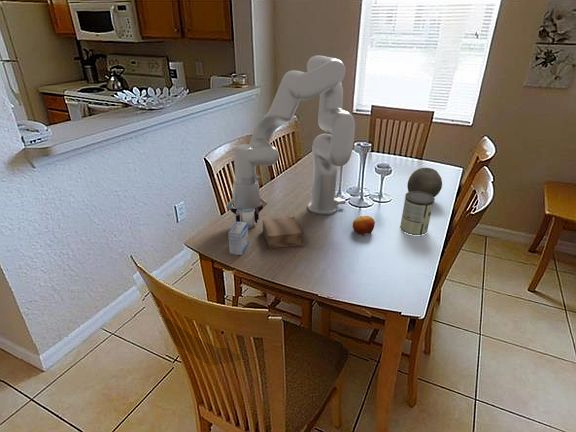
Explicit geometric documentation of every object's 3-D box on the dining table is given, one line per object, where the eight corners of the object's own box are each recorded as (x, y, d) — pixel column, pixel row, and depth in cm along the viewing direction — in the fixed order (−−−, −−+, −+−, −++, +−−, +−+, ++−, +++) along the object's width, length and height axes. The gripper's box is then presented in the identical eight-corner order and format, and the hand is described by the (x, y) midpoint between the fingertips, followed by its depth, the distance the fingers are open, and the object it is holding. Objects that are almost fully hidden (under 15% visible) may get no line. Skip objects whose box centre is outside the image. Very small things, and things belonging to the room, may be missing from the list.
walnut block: (293, 228, 143) (294, 216, 140) (301, 244, 132) (302, 232, 130) (262, 231, 140) (262, 219, 138) (268, 248, 130) (268, 236, 128)
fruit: (364, 238, 134) (359, 217, 134) (352, 239, 141) (347, 219, 141) (381, 233, 138) (377, 212, 137) (369, 234, 145) (364, 214, 145)
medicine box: (242, 255, 126) (240, 233, 122) (229, 254, 127) (227, 232, 123) (248, 243, 133) (248, 222, 129) (236, 242, 133) (235, 220, 129)
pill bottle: (253, 221, 147) (252, 203, 143) (255, 227, 143) (254, 209, 139) (240, 222, 146) (239, 204, 142) (241, 228, 142) (240, 210, 138)
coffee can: (400, 221, 149) (406, 189, 143) (427, 225, 146) (434, 193, 140) (398, 233, 141) (404, 200, 134) (427, 238, 138) (434, 204, 131)
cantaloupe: (403, 203, 163) (409, 171, 156) (406, 191, 175) (412, 161, 168) (437, 209, 159) (444, 177, 152) (438, 197, 170) (445, 166, 163)
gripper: (267, 173, 140) (267, 215, 149) (221, 176, 137) (224, 219, 145) (271, 181, 134) (271, 224, 142) (222, 184, 130) (225, 229, 139)
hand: (247, 221), depth 144 cm, fingers open, 5 cm apart
